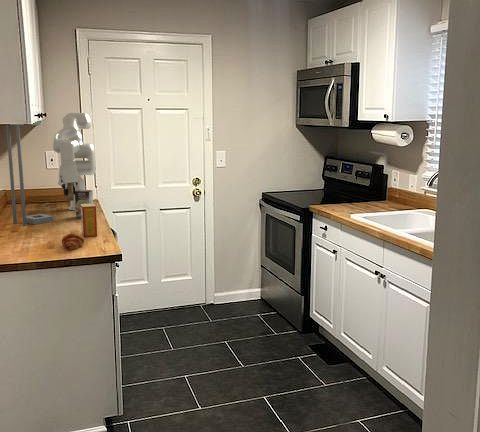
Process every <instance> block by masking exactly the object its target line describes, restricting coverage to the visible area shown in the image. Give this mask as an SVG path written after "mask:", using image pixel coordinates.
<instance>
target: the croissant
mask: <svg viewBox="0 0 480 432" xmlns="http://www.w3.org/2000/svg"><path fill="white" fill-rule="evenodd" d="M84 243H85V239H84V237H83V235H82V236H81V235H80V234H78V233H67V234H66V235H64V236H62V239H61V245H62V248H63V249H65V250H67V251H73V249H74V250H77V249H79V248H81V247H82V246H83V245H84Z"/></svg>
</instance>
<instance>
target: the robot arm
mask: <svg viewBox="0 0 480 432" xmlns="http://www.w3.org/2000/svg"><path fill="white" fill-rule="evenodd" d="M89 115H90V114H88V113H85V112H68V113H66V115H65V116H63V118H62V125H63V127H62V128H61V129H60V130H58V131H57V132H56V133H55V134H54V137H53V143H52V150H53V151H54V152H55V153H57V154H60V165H59V168H58V182H57V185H59V186H60V187H61V188H62V189H63V195H64V196H65V197H66V196H68V189H67V184H68V183H73V196H74V200H73V201H70V206H68V210H69V211H76V209H75V191H77V190H86V183H85V179H84V178H82V176H92V175H95V174H96V151H95V146H94V145H93V144H92V143H85V142H84V143H83V135H82V133H81V132H80V131H79V130H89V129H91V127H92V119H91V117H90V116H89ZM76 159H83V160H76ZM84 159H87V160H84Z"/></svg>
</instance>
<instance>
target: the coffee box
mask: <svg viewBox="0 0 480 432" xmlns="http://www.w3.org/2000/svg"><path fill="white" fill-rule="evenodd" d="M93 191H94V190H92V189H91V190H90V189H85V190H77V191H75V209H76V210H75V218H80V219H81V207H80V204H90V203H94V199H93V198H94V197H93Z"/></svg>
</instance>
